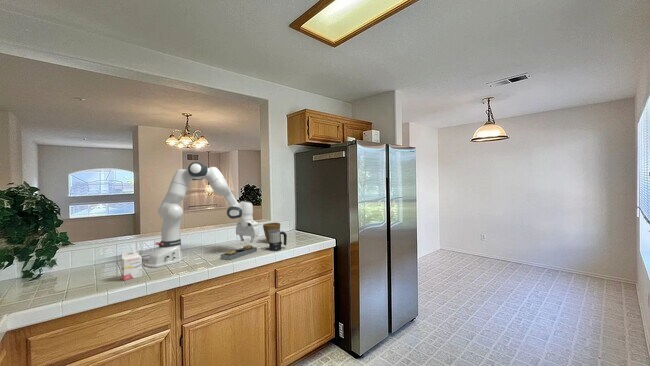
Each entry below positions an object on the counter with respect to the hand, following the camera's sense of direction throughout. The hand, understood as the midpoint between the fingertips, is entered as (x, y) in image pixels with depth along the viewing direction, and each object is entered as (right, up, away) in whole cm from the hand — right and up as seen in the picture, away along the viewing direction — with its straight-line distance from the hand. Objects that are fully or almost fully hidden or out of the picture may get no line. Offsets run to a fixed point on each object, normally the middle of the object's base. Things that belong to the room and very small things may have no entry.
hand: (246, 241), depth 195 cm
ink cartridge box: (-51, -10, -46) cm, 69 cm away
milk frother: (+19, -8, +13) cm, 24 cm away
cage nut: (0, -8, +1) cm, 8 cm away
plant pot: (+12, -8, +33) cm, 36 cm away
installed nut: (-7, -8, -13) cm, 17 cm away
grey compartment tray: (-3, -9, -6) cm, 11 cm away
